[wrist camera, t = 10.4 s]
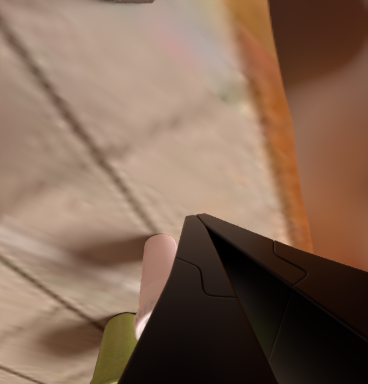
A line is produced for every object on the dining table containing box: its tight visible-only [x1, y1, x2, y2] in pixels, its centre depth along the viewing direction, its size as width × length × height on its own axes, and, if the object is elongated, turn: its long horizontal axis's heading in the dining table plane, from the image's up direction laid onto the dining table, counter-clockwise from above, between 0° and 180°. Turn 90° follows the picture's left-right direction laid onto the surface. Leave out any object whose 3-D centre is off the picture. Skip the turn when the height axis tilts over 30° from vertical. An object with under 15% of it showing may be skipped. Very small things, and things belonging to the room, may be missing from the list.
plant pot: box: [90, 313, 138, 384], centre depth 29 cm, size 9×9×9 cm
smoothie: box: [134, 234, 178, 340], centre depth 21 cm, size 6×6×14 cm
